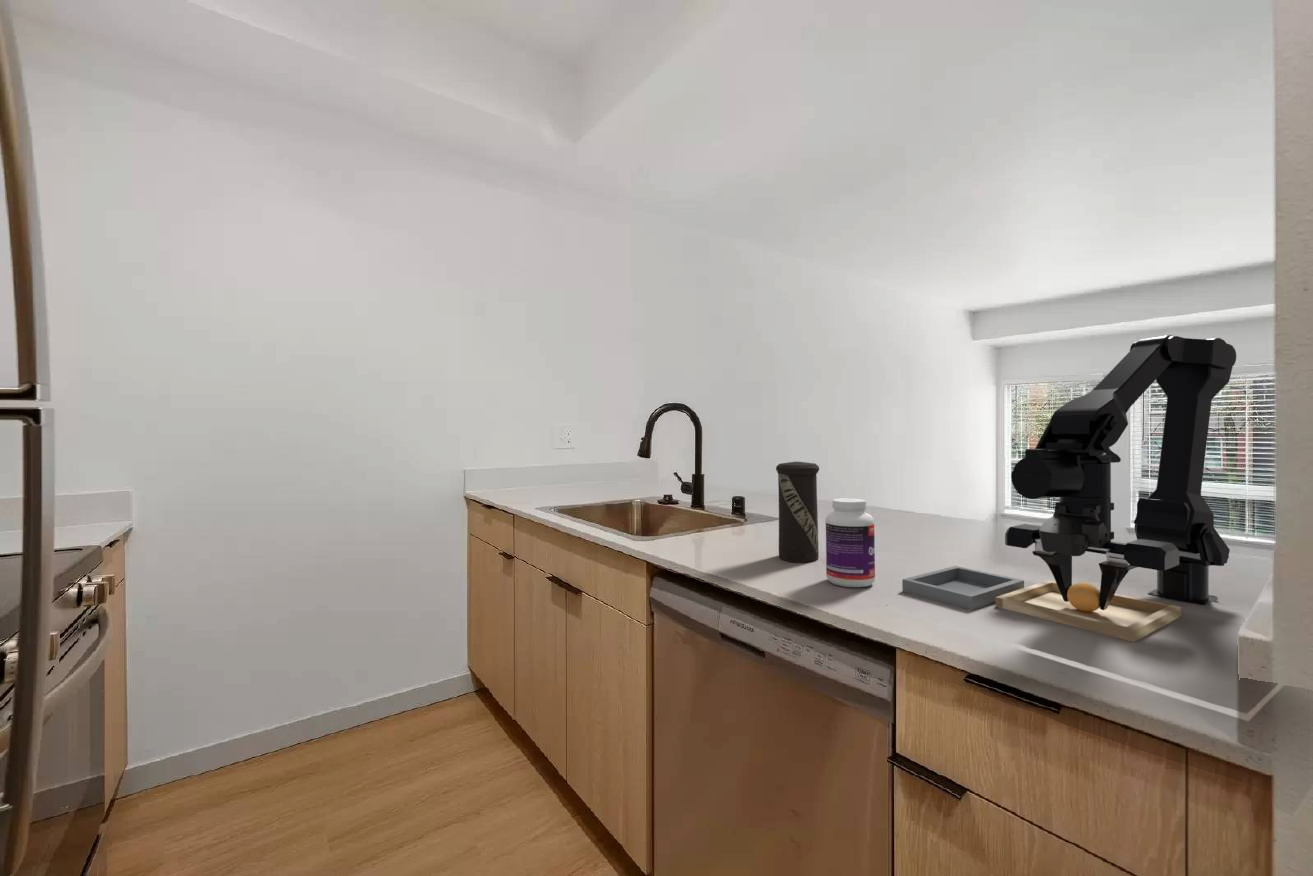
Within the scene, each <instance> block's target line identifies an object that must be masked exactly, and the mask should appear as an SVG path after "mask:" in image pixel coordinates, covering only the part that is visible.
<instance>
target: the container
mask: <svg viewBox="0 0 1313 876" xmlns="http://www.w3.org/2000/svg"><path fill="white" fill-rule="evenodd" d="M775 470H776V473H777V476H778V477H777V480H778V481H777V482H778V557H779V558H780V559H781V560H784V561H787V562H793V563H795V562H796V563H810V562H814V561H817V560H819V556H820V555H819V553H820V551H819V550H820V549H819V522H818V491H817V490H818V485H817V484H818V483H817V481H818V480H817V479H818V477H817V474H818V473H819V471H820V466H819V465H818V464H816V463H815V462H814V463H812V462H807V461H806V462H805V461H789V462H783V463H778V465H776V467H775Z"/></svg>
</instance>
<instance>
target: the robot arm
mask: <svg viewBox="0 0 1313 876" xmlns="http://www.w3.org/2000/svg"><path fill="white" fill-rule="evenodd" d="M1236 361H1237V352H1236V349H1235V347H1234V345H1232V344H1230V343H1227V342H1226V341H1225V339H1223V338H1220V337H1213V338H1205V339H1203V338H1188V337H1187V338H1186V337H1182V336H1178V335H1172V334H1169V335H1162V336H1154V337H1147V338H1141V339H1139V340H1137V341H1134V342H1132V344H1131V345H1130V349H1129V352H1127V354H1126V355H1125V356H1123V358H1122V359H1120V361H1119V362H1118V363H1117V364H1116V365H1115V366H1114V367H1113V368H1112V369H1111V370H1110V371H1109V372H1108V373H1107V374H1106V376H1104V378H1103V379H1102V380H1101V381H1100V382H1099V383H1098V384H1097V385H1096V386H1095V387H1094V388H1093V389H1091V391H1089V392H1088V393H1087V394H1084V395H1081V396H1079V397H1076V398H1074V399H1070V400H1069V401H1068V402H1066V403H1064V404H1063V405H1062V406H1061V407H1059V408H1057V409H1056V410H1055V411H1054V413H1052V415H1051V418H1050V419H1049V423H1048V424H1047V426H1046V428H1045V430H1044V432H1043V433H1042V435H1041V437H1040V439H1039V441H1038V442H1037V444H1036V446H1035V448H1025V450H1024V454H1025V455H1024V458H1022V459H1020V460H1019V461H1018V462H1016V463H1015V465H1014V467H1013V469H1012V471H1011V473H1010V474H1011V475H1010V477H1011V483H1012V486H1013V488H1014V489H1015V491H1016V492H1017V494H1019V495H1020V496H1022V497H1023V498H1026V499H1029V500H1039V499H1052V498H1059V501H1057V502H1055V505H1054V513H1053V515H1052V516H1051V517H1049V518H1048V519H1047V520H1046V521H1044V523H1043V524H1041V525H1034V524H1028V523H1023V524H1018V525H1013V526H1012V525H1011V526H1009V527H1008V528H1007V530H1006V531H1005V533H1004V544H1005V546H1009V547H1016V548H1020V549H1028V548H1029V547H1031V546H1032V545H1034V550H1032V551H1031V552H1032V554H1033V556H1036V557H1039V558H1040V559H1041V560H1042V561H1044V563H1046V565H1047V566H1048V568H1049V570H1050V572H1051V573H1052V576H1053V578H1054V581H1055V582H1056V583H1057V586H1058V588H1059V590H1060V593H1061V595H1062V598H1063V600H1064V601H1065V602H1068V601H1069V600H1068V597H1067V592H1068V589H1069V588H1070V587H1071V586H1072V585H1073V557H1081V556H1083V555H1084V554H1085V553H1086V552H1088V553H1095V554H1100V555H1105V558H1106V560H1104V561H1102V562H1099V563H1098V567H1099V570H1100V572H1101V573H1100V574H1101V578H1100V589H1099V590H1100V598H1099V601H1100V609H1101V610H1105V609H1107V607H1108V605H1109V603H1110V601H1111V600H1112V598H1113V596H1114V594H1116V592H1117V590H1118V587H1119V586H1120V584H1121V582H1122V581H1123V579H1125V576H1127V574H1128V573H1129V572H1130V571H1131V570H1134V569H1136V568H1141V569H1142V568H1143V569H1149V570H1153V571H1155V570H1156V588H1155V589H1153V590H1151V591H1149V592H1147V595H1149V596H1153V597H1159V598H1164V599H1168V600H1174V601H1179V602H1183V603H1184V602H1185V603H1189V604H1194V605H1199V606H1206V605H1208V604H1210V603H1215V602H1217V601H1218V600H1219V599H1218V596H1216V595H1211V594H1209V593H1210V592H1209V590H1210V589H1209V586H1210V585H1209V583H1210V581H1209V577H1210V575H1209V573H1210V570H1209V567H1210V566H1216V567H1224V566H1225V564H1227V563H1228V559H1229V557H1230V556H1229V555H1230V548H1229V546H1228V545H1227V543H1226V542H1225V541H1224V540H1223V538H1222V537H1221V536H1220V534H1219V532H1218V531H1217V530H1216V528H1215V527H1214V526H1215V522H1214V520H1215V515H1214V512H1213V511H1212V509H1211V508H1210V506H1209V505H1208V504H1207V502H1206V501H1205V499H1204V497H1203V496H1202V486H1203V477H1204V468H1205V460H1206V451H1207V445H1208V444H1207V442H1208V434H1209V426H1210V417H1211V409H1212V403H1213V402H1212V401H1213V399H1214V398H1215V397H1216V396H1217V395H1218V394H1219V393H1220V392H1221V391H1222V390H1223V388H1225V387H1226V386H1227V385H1228V383H1229V382H1230V380H1231V375H1232V371H1233V367H1234V366H1235V364H1236ZM1154 382H1156V383H1157V385H1158V386H1159V387H1160V389H1161V390H1162V392H1163V393H1164V394H1165V397H1166V405H1165V406H1166V407H1165V415H1164V422H1163V423H1164V424H1163V431H1162V439H1161V447H1160V455H1159V462H1158V463H1159V465H1158V471H1157V480H1156V487H1155V490H1154V491H1153V492H1152V493H1151V494H1150V495H1148V497H1140V498H1139V500H1137V502H1136V516H1135V518H1134V521H1133V524H1134V532H1135V536H1136V539H1135V540H1132V541H1129V542H1128V541H1127V542H1126V543H1124V542H1117V541H1112V540H1114V539H1115V531H1112V515H1111V514H1112V513H1111V512H1112V511H1115V502H1112V482H1111V481H1112V473H1111V472H1112V470H1111V469H1112V463H1121V461H1122V460H1121V459H1122V458H1121V457H1120V456H1119V455H1118V454H1117V453H1115V452H1114V451H1113V450H1112V449H1111V447H1112V446H1113V445H1115V444H1117V442H1118V441H1119V439H1121V436H1122V435H1123V433H1124V432H1125V430H1126V428H1127V427H1128V426H1129V421H1128V415H1127V413H1128V411H1129V410H1130V408H1132V406H1133V405H1134V404H1135V403H1136V402H1137V401H1138V400H1139V399H1140V397H1142V395H1143V394H1144V393H1145V392H1146V391H1147V390H1148V388H1149V387H1150V386H1151V385H1153V383H1154Z"/></svg>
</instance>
